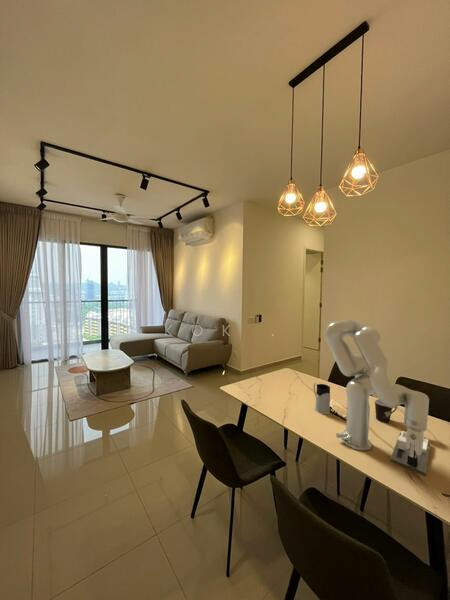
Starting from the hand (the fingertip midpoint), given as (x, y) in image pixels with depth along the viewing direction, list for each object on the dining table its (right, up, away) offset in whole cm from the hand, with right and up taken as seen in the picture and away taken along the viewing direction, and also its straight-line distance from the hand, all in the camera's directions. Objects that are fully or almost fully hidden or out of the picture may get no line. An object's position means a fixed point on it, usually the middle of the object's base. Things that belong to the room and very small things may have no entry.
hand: (412, 464), depth 104 cm
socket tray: (+13, 0, +16) cm, 21 cm away
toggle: (+4, 0, +12) cm, 13 cm away
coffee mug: (+13, 0, +38) cm, 40 cm away
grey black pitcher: (-19, +1, +50) cm, 54 cm away
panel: (+8, -2, +11) cm, 13 cm away
